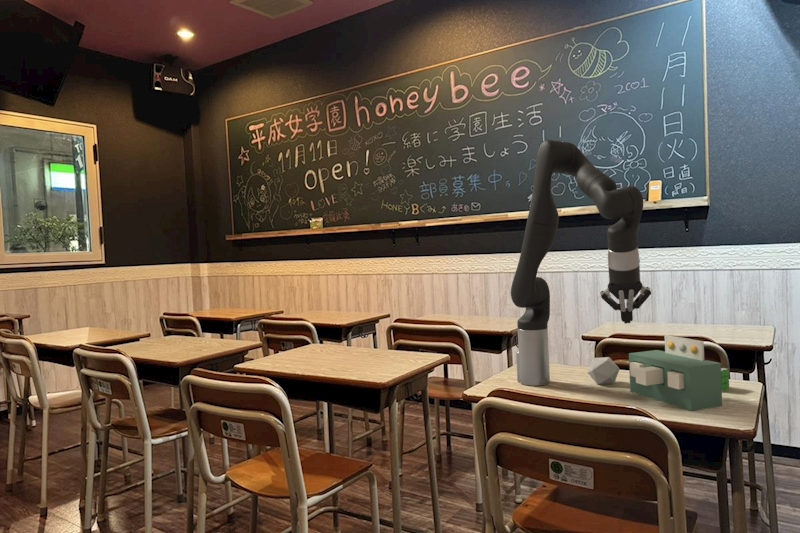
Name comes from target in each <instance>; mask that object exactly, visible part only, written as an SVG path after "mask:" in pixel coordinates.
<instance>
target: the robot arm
mask: <svg viewBox="0 0 800 533" xmlns="http://www.w3.org/2000/svg"><path fill="white" fill-rule="evenodd" d="M553 174H559V175H564V174H567V175H571V176H572V177H575V178H576V184H577V187H578V188H579V190H580V191H581V192H583V194H584V195H586V196H587V197H589V199H591V200H592V202H593V203H594V205H595V206H596V209H597V211H598V213H599V214H600V216H601V217H603V219H606V220H617V219H619V220H618V221H617V222H616V223H614V224H612V225H611V226H609V227H608V228H607V232H606V234H607V235H606V236H607V247H608V248H607V250H608V251H607V264H608V279H609V281H608V284H607V288H606V289H605V290H602V291H600V297H601V299H602V300H603V301H604V302H606V304H608V306H610V307H611V308H612V309H613V310H614V311H620V319H621V321H622V323H624V324H631V322H632V321H633V320H634V316H633V313H634V312H633V311H634V310H635V309H636V310H638V309H640V308H641V307H642V305H643V304H644V303H645V302H646V301H647V300H648V298H649V297H650V296H651V295H652V291H651V288H650V287H649V286H647V287H646V286H644V285H643V282H641V270H640V266H641V265H640V264H641V262H640V261H641V260H640V253H639V247H638V246H639V245H638V230H639V225H640V222H641V218H642V213H643V209H644V197H643V194H642V192H641V191H640V189H638V188H637V187H636V186H634V185H632V186H631V185H629V186H625V187H621V188H618V187H617V186H618V185H617V183H616V182H615V180H613V179H612V177H610V176H609V175H607V174H605V173H604V172H603V171H602V170H600V169H598V168H597V167H596V166H595V165H594V164H593V163H592V162H591V161H590V160H589V159H588V158H587V157H586V156H585V154H584V153H583V152H582V151H581V150H580V149H579V147H577V145H575V144H574V143H572V142H569V141H560V140H553V139H546V140H544V141H543V142H542V143H541V144H540V146H539V148H538V151H537V156H536V160H535V171H534V180H533V187H532V188H533V189H532V195H531V199H530V200H531V201H530V204H529V205H530V206H529V211H528V213H527V214H528V215H527V220H526V225H525V229H524V230H525V231H524V237H523V242H522V245H521V249H520V250H521V251H520V255H519V259H518V264H517V267H516V271H515V273H514V276H513V280H512V282H511V287H510V298H511V301H512V303H513V304H514V305H515V306H516V307H517V308H520V309H521V308H522V309H523V308H525V311H524V312H523V315H522V316H520V317H519V318H518V319H517V323H516V324H517V341H518V342H517V343H518V351H517V352H515V353H516V355H515V357H516V375H517V376H516V377H517V378H516V379H517V382H518V383H520V384H521V385H525V386H531V387H532V386H535V387H536V386H545V385H549V384H550V383H551V378H550V353H549V352H550V351H549V332H548V331H549V330H548V324H549V321H550V316H551V313H550V312H551V308H550V307H551V294H550V287H549V285H548V282H547V281H546V280H545V279H544V278H542V277H539V276H537V275H538V270H539V268H540V266H541V264H542V262H543V260H544V258H545V257H546V256H547V254H548V252H549V251H550V249H551V248H552V246H553V244H554V243H555V240H556V236H557V230H558V227H559V223H560V222H559V221H560V216H559V212H558V208H557V206H556V203H555V200H554V197H553V194H552V187H551V186H552V177H553ZM638 294H639V295H638ZM611 295H612V296H614V298H616V299H617V300H618V302H616V301H615V300H614V299H613V297H612V296H611Z"/></svg>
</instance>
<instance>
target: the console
mask: <svg viewBox="0 0 800 533" xmlns="http://www.w3.org/2000/svg"><path fill="white" fill-rule="evenodd" d="M704 343H705V342H704V340H698V339H692V338H687V337H680V336H675V335H674V336H673V335H668V334H665V335H664V350H660V349H654V350H645V351H637V352H629V353H628V365H629V366H628V367H629V369H628V370H629V374H630V362H642V363H645V367H651V366H655V367H659V368H663V369H664V383H661V384H654V385H647V386H645V385H642V384H639V383H636V377H633V376H630V375H629V392H631V393H634V394H637V395H640V396H643V397H646V398H649V399H652V400H655V401H659V402H661V403H662V402H663V403H665V404H668V405H671V406H674V407H676V408H679V409H683V410H686V411H690V412H695V411H700V410H706V409H711V408H718V407H722V406H723V391H722V381H721V368H722V362H716V361H713V360H708V359H705V348H704ZM670 371H679V372H683V373H684V377H685V389H680V390H679V389H675V388H672V387H668V376H667V372H670Z"/></svg>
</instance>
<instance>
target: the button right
mask: <svg viewBox="0 0 800 533" xmlns="http://www.w3.org/2000/svg"><path fill="white" fill-rule="evenodd" d="M667 376H668V387H672V388H675V389H679V390H680V389H685V377H684V373H683V372H679V371H670V372H667Z"/></svg>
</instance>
